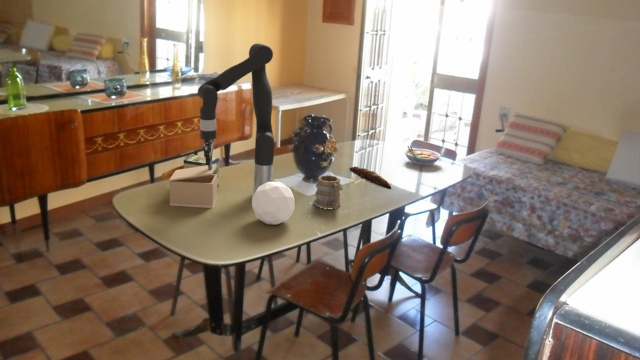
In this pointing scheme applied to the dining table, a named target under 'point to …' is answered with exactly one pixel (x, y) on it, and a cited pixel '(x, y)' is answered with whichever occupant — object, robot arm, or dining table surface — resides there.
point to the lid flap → (193, 172)
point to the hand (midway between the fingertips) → (208, 163)
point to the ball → (273, 203)
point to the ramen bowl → (422, 156)
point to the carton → (194, 191)
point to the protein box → (201, 164)
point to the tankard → (328, 192)
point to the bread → (371, 176)
